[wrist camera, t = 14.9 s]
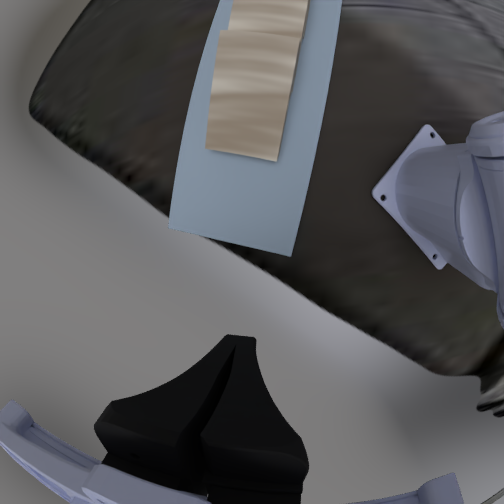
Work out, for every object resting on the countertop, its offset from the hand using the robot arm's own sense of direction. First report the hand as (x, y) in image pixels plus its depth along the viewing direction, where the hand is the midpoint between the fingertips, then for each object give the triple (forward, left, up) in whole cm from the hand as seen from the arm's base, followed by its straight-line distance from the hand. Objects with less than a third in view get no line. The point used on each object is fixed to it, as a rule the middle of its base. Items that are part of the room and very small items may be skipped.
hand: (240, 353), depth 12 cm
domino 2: (+7, -6, -9) cm, 13 cm away
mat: (+11, -15, -10) cm, 21 cm away
